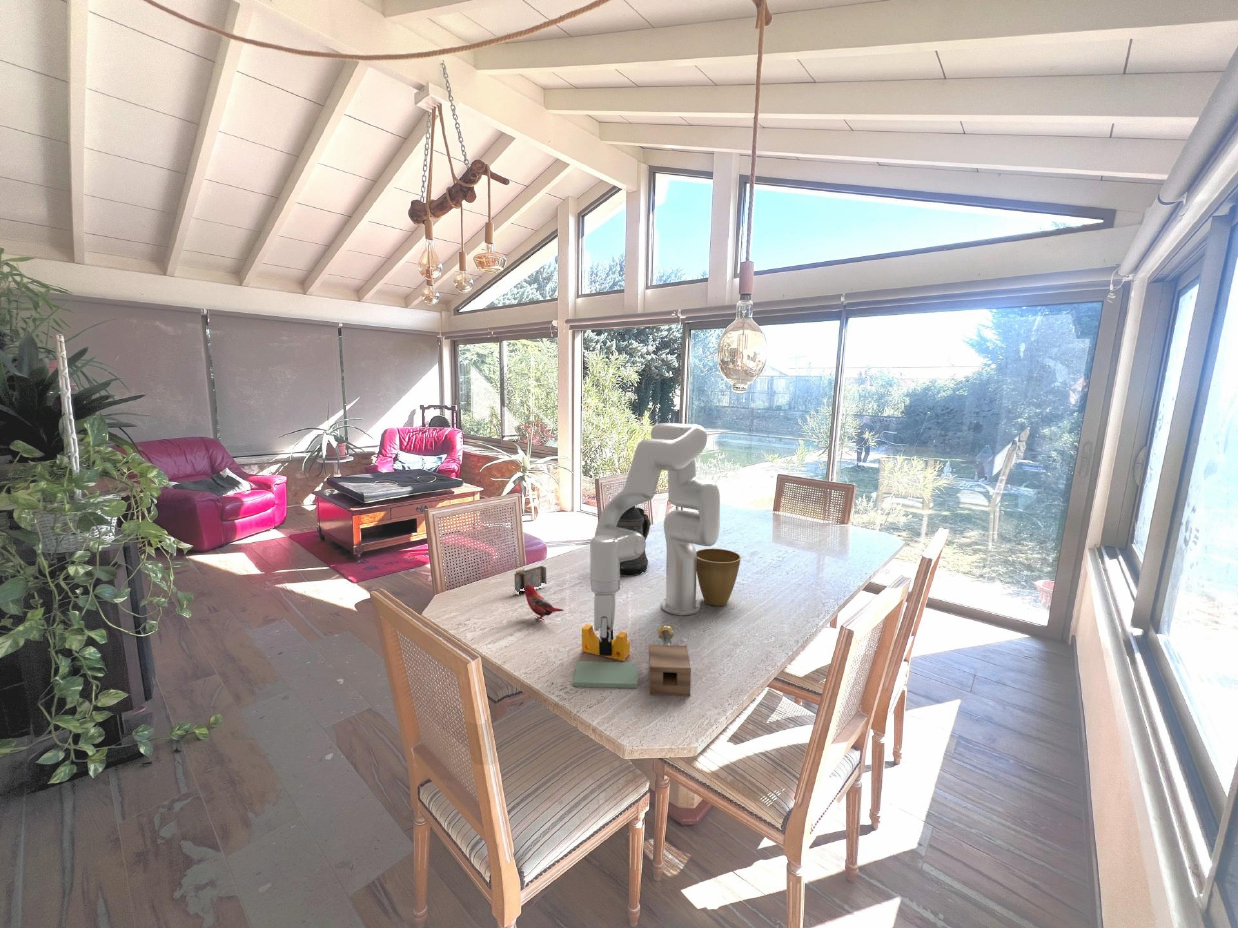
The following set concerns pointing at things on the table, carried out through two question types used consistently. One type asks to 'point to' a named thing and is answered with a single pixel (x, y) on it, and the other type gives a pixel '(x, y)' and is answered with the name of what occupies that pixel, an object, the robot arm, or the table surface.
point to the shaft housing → (669, 670)
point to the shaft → (665, 634)
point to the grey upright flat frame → (530, 577)
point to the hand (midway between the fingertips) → (606, 648)
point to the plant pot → (717, 574)
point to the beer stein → (639, 523)
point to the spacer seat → (606, 674)
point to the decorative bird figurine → (538, 603)
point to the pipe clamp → (592, 643)
